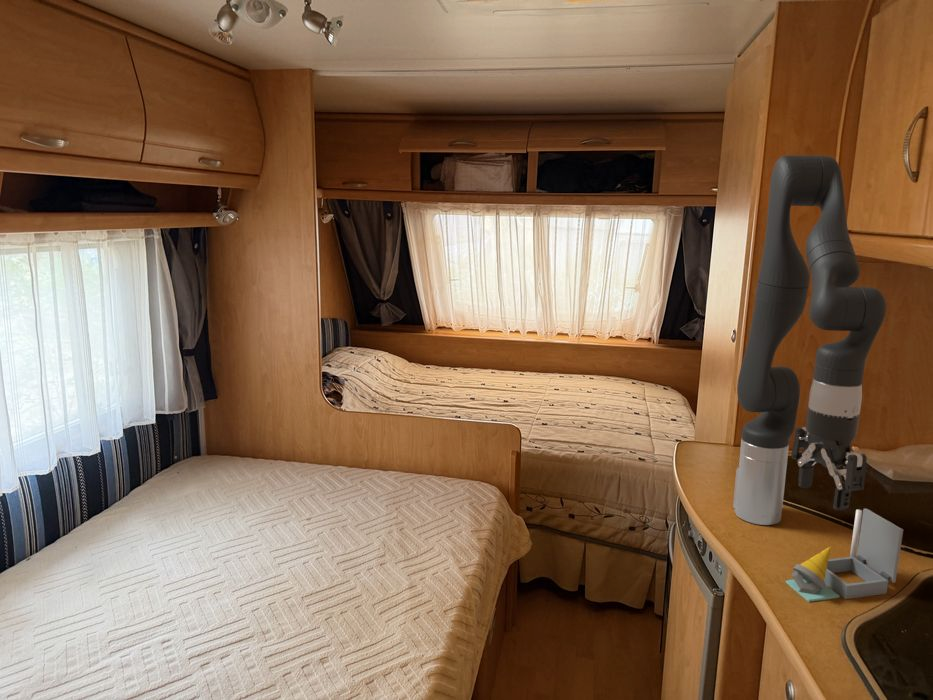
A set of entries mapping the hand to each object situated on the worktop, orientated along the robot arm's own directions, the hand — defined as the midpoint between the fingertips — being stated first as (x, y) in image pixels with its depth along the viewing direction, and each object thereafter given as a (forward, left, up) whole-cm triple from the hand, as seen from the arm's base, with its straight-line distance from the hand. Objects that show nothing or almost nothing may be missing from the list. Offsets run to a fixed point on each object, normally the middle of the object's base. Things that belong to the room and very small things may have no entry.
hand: (821, 497), depth 113 cm
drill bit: (-1, 0, -17) cm, 17 cm away
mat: (0, 0, -18) cm, 18 cm away
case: (-1, +9, -18) cm, 20 cm away
